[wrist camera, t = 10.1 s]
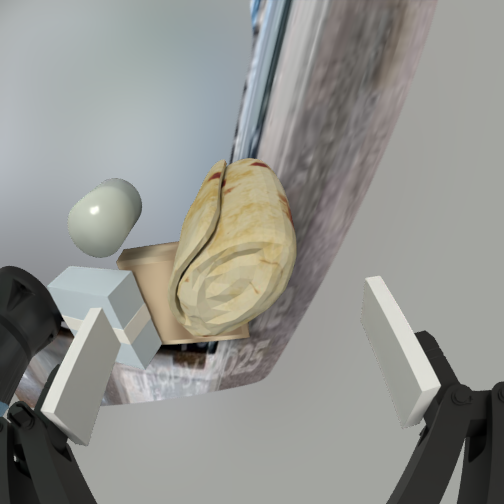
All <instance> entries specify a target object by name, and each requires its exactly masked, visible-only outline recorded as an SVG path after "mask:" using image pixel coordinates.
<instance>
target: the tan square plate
mask: <svg viewBox="0 0 504 504" xmlns="http://www.w3.org/2000/svg"><path fill="white" fill-rule="evenodd" d="M178 245H179V241H178V242H171V243H164V244H158V245H150V246H144V247H137V248H131V249H124V250H123V252H122V253H121V255H120V256H119V258H118V260H117V262H116V263H117V265H118V268H119V270H128V271H132V273H133V276H134V278H135V281H136V283H137V286H138V288H139V291H140V293H141V296H142V298H143V301H144V303H145V304H146V307H147V309H148V311H149V314H150V316H151V320H152V322H153V324H154V327H155V329H156V331H157V334H158V336H159V338H160V340H161V342H162V344H161V345H165V344H181V343H195V342H208V341H219V340H229V339H239V338H248V337H249V322H247V323H246V324H244V325H242V326H240V327H238V328H236V329H235V330H233V331H230V332H227V333H224V334H221V335H218V336H211V337H200V336H194V335H192V334H191V333H190V332H189V331H188V330H187V329H185V328H184V327H183V326H182V325H181V324H180V323H179V322H178V321H177V320H176V318H175V317H174V316H173V314H172V312H171V310H170V307H169V303H168V299H167V296H168V283H169V280H170V278H171V274H172V271H173V266H174V261H175V256H176V252H177V249H178Z"/></svg>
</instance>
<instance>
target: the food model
mask: <svg viewBox="0 0 504 504" xmlns="http://www.w3.org/2000/svg"><path fill="white" fill-rule="evenodd" d="M226 165H227V163H226V161H225V160H220V161H219V162H217V163H216V164H215V165H214V166H213V167H212V168H211V170H210V171H209V173H208V174H207V176H206V178H205V180H204V182H203V183H202V186H201V188H200V190H199V192H198V194H197V197H196V199H195V201H194V202H193V204H192V205H191V207H190V209H189V211H188V213H187V216H186V218H185V220H184V223H183V226H182V230H181V236H180V241H179V245H178V249H177V252H176V256H175V261H174V266H173V271H172V274H171V278H170V280H169V283H168V296H167V299H168V303H169V307H170V310H171V312H172V314H173V316H174V317H175V318H176V320H177V321H178V322H179V323H180V324H181V325H182V326H183V327H184V328H185V329H187V330H188V331H189V332H190V333H191V334H192V335H194V336H200V337H211V336H218V335H221V334H224V333H227V332H230V331H233V330H235V329H236V328H238V327H240V326H242V325H244V324H246V323H247V322H249V321H251V320H252V319H254V318H255V317H257V316H258V315H260V314H261V313H263V312H264V311H266V310H267V309H268V308H270V307H271V306H272V305H273V303H274V302H275V301H276V300H277V299H278V298H279V297H280V295H281V294H282V293H283V292H284V291H285V289H286V286H287V284H288V282H289V279H290V277H291V274H292V271H293V268H294V264H295V260H296V255H297V252H296V236H295V229H294V225H293V220H292V216H291V211H290V206H289V202H288V199H287V197H286V194H285V191H284V189H283V187H282V185H281V183H280V181H279V180H278V178H277V176H276V175H275V173H274V172H273V170H272V169H271V168H270V167H269V166H268V165H267V164H266V163H264V162H263V161H261V160H258V159H251V158H247V159H241V160H239V161H237V162H234V163H232V164H230V165H228V166H227V167H226Z"/></svg>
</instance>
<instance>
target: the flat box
mask: <svg viewBox="0 0 504 504" xmlns="http://www.w3.org/2000/svg"><path fill="white" fill-rule="evenodd" d="M47 288H48V290H49V292H50V294H51V296H52V298H53V300H54V302H55V303H56V305H57V307H58V309H59V311H60V313H61V314H62V317H63V319H64V321H65V322H66V324H67V326H68V327H69V328H70V330H71V332H72V333H73V335H74V337H75V336H76V334H77V332H78V330H79V328H80V326H81V324H82V323H83V321H84V319H85V317H86V315H87V313H88V312H89V310H90V308H101V307H102V308H103V310H104V313H105V315H106V317H107V319H108V321H109V322H110V324H111V326H112V328H113V330H114V332H115V334H116V336H117V338H118V340H119V341H120V343H121V347H120V350H119V352H118V355H117V358H116V361H115V362H118V363H122V364H125V365H129V366H132V367H136V368H139V369H143V370H146V368H147V366H148V365H149V363H150V362H151V360H152V358H153V357H154V355H155V354H156V352H157V351H158V349H159V348H160V346H161V344H162V342H161V340H160V338H159V336H158V334H157V331H156V329H155V327H154V324H153V322H152V320H151V316H150V314H149V311H148V309H147V307H146V304H145V303H144V301H143V298H142V296H141V293H140V291H139V288H138V286H137V283H136V281H135V278H134V276H133V273H132V271H128V270H114V269H101V268H88V267H76V266H69V267H68V268H67V269H65V270H64V271H63V272H62V273H61V274H60V275H59V276H58V277H57V278H56V279H54V280H53V281H52V282H51V283H50V284H49V285H48V286H47Z"/></svg>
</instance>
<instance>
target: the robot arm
mask: <svg viewBox="0 0 504 504" xmlns="http://www.w3.org/2000/svg"><path fill="white" fill-rule="evenodd" d="M361 323H362V325H363V327H364V330H365V332H366V335H367V337H368V340H369V342H370V344H371V347H372V349H373V352H374V354H375V357H376V359H377V362H378V364H379V367H380V369H381V372H382V375H383V377H384V380H385V382H386V385H387V388H388V390H389V393H390V396H391V398H392V401H393V404H394V407H395V410H396V412H397V415H398V418H399V421H400V424H401V426H402V429H404V428H407V427H410V426H414V425H417V424H419V423H420V421H421V420H422V418H423V417H424V420H425V422H426V426H425V427H424V428H423V430H422V431H421V433H420V436H421V437H420V439H419V441H418V443H417V446H416V448H415V450H414V452H413V454H412V456H411V458H410V461H409V463H408V465H407V467H406V469H405V471H404V473H403V474H402V477H401V478H400V480H399V482H398V484H397V486H396V488H395V490H394V491H393V493H392V495H391V496H390V498H389V500H388V502H387V503H386V504H439V503H440V501H441V499H442V497H443V495H444V492H445V490H446V488H447V486H448V483H449V480H450V478H451V476H452V473H453V471H454V468H455V466H456V463H457V460H458V457H459V455H460V452H461V449H462V446H463V443H464V439H465V450H464V460H463V468H462V476H461V483H460V489H459V495H458V501H457V504H504V382H499V383H497V384H496V385H495V386H494V387H493V389H492V390H486V391H472V390H471V389H470V388H469V387H467V386H465V385H462V384H460V382H459V381H458V379H457V377H456V376H455V374H454V372H453V370H452V368H451V367H450V364H449V363H448V361H447V359H446V357H445V356H444V355H443V352H442V351H441V349H440V348H439V345H438V343H437V342H436V340H435V338H434V337H433V336H432V335H430V334H429V333H428V332H426V331H421V332H417V333H413V331H412V329H411V327H410V325H409V324H408V322H407V320H406V318H405V317H404V315H403V313H402V312H401V310H400V308H399V306H398V305H397V303H396V302H395V300H394V298H393V296H392V295H391V293H390V291H389V290H388V288H387V286H386V285H385V283H384V281H383V280H382V278H381V277H380V276H376V277H369V278H366V279H365V288H364V298H363V307H362V314H361ZM60 327H61V314H60V311H59V309H58V307H57V305H56V303H55V302H54V300H53V298H52V296H51V294H50V292H49V291H48V290H47V288H46V287H45V286H44V285H43V284H42V283H41V282H40V281H39V280H38V279H37V278H35V277H34V276H33V275H31V274H30V273H28V272H27V271H25V270H23V269H21V268H18V267H14V266H6V267H2V268H1V269H0V504H97V503H96V501H95V499H94V497H93V495H92V493H91V491H90V489H89V487H88V485H87V483H86V481H85V479H84V477H83V475H82V473H81V471H80V469H79V466H78V464H77V462H76V460H75V458H74V455H73V453H72V450H71V448H70V446H69V445H68V443H67V439H68V438H69V439H70V440H71V441H73V442H74V443H75V444H79V445H84V446H88V444H89V441H90V437H91V433H92V430H93V427H94V424H95V420H96V417H97V414H98V411H99V407H100V404H101V401H102V398H103V395H104V392H105V389H106V386H107V383H108V380H109V378H110V375H111V372H112V369H113V366H114V363H115V361H116V358H117V355H118V352H119V350H120V347H121V343H120V341H119V340H118V338H117V336H116V334H115V332H114V330H113V328H112V326H111V324H110V322H109V321H108V319H107V317H106V315H105V313H104V310H103V308H102V307H101V308H90V310H89V312H88V313H87V315H86V317H85V319H84V321H83V323H82V324H81V326H80V328H79V330H78V332H77V334H76V336H75V338H74V340H73V342H72V344H71V346H70V348H69V350H68V352H67V354H66V356H65V358H64V360H63V362H62V364H61V365H60V364H58V365H57V366H56V367H55V368H54V369H53V370H52V371H51V373H50V375H49V377H48V379H47V382H46V384H45V386H44V388H43V390H42V392H41V395H40V397H39V399H38V401H37V404H36V406H35V408H34V411H33V410H32V409H31V408H30V407H29V406H28V405H27V404H26V403H25V402H23V401H18V402H15V403H14V404H13V405H12V406H11V407H10V408H9V404H10V401H11V399H12V397H13V395H14V393H15V391H16V389H17V386H18V384H19V382H20V380H21V378H22V376H23V374H24V372H25V370H26V368H27V366H28V364H29V362H30V361H31V359H32V357H33V356H35V355H36V354H37V353H38V352H40V351H41V350H42V349H43V348H45V347H46V346H47V345H48V344H50V343H51V342H52V341H53V340H54V339H55V337H56V335H57V333H58V332H59V330H60ZM8 408H9V410H8V413H7V419H9V420H10V421H11V422H12V423H9V422H8V421H7V420H6V419H5V418H4V417H3V415H4V413H5V411H6V410H7V409H8ZM14 456H16V462H15V461H14Z"/></svg>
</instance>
